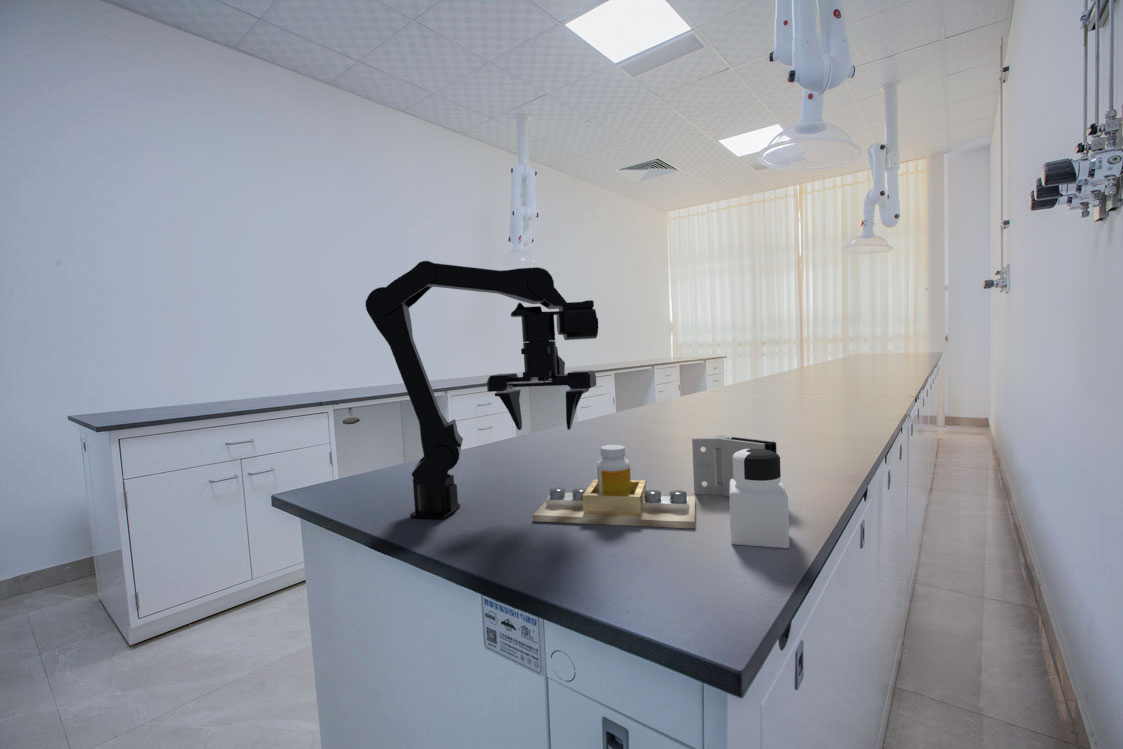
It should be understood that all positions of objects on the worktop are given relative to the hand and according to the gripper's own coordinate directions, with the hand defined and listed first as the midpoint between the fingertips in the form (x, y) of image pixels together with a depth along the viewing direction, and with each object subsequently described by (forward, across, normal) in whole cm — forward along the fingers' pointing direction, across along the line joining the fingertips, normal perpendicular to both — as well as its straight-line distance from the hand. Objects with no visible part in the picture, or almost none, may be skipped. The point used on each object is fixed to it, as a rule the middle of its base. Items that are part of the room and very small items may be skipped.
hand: (544, 429), depth 88 cm
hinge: (+13, -32, -6) cm, 35 cm away
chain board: (+13, -13, +4) cm, 19 cm away
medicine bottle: (+13, -34, +12) cm, 38 cm away
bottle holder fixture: (+13, -13, +4) cm, 19 cm away
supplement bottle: (+12, -13, +4) cm, 18 cm away
